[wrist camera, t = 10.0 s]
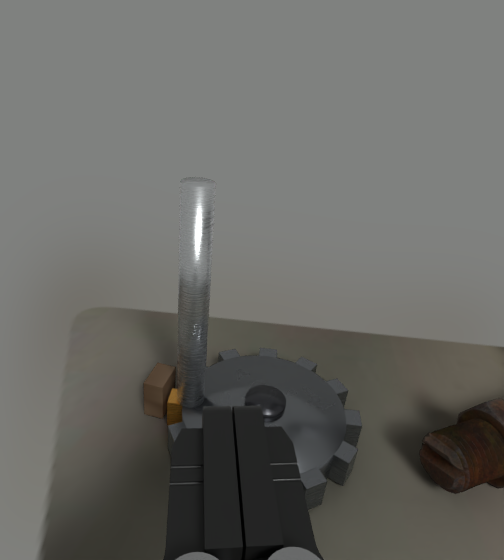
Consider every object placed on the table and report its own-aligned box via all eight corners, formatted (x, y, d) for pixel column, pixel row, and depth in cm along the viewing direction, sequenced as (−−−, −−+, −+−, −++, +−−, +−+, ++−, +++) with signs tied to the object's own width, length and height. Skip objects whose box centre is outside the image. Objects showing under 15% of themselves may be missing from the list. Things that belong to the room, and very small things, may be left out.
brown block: (175, 397, 29) (175, 366, 28) (162, 418, 28) (162, 387, 26) (158, 392, 30) (157, 362, 28) (144, 414, 28) (143, 383, 27)
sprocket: (344, 378, 32) (393, 174, 25) (369, 529, 22) (462, 261, 15) (187, 359, 32) (193, 151, 25) (143, 500, 22) (132, 224, 15)
